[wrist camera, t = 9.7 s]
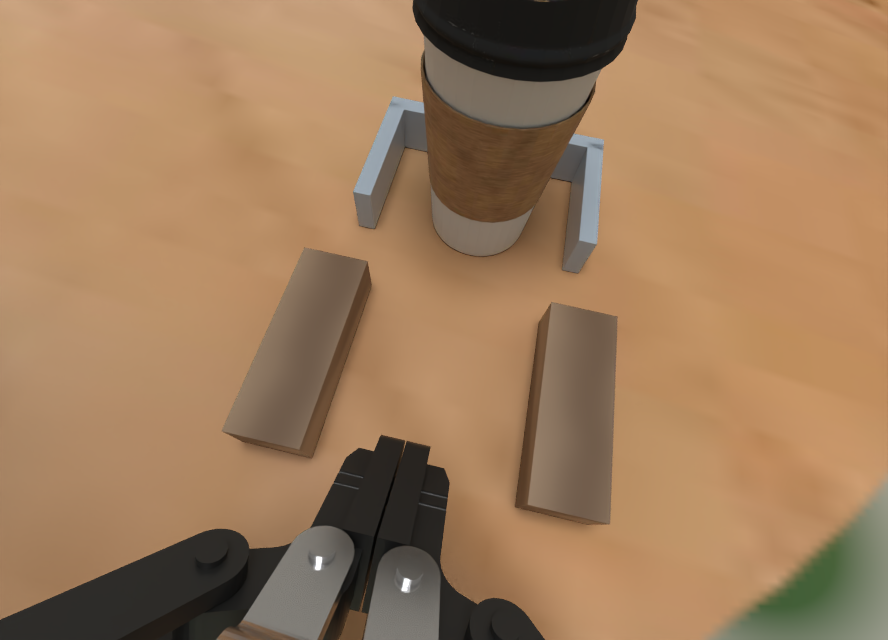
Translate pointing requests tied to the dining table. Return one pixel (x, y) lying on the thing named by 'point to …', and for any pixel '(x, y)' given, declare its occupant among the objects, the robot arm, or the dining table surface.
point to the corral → (410, 131)
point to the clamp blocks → (550, 401)
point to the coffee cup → (506, 104)
